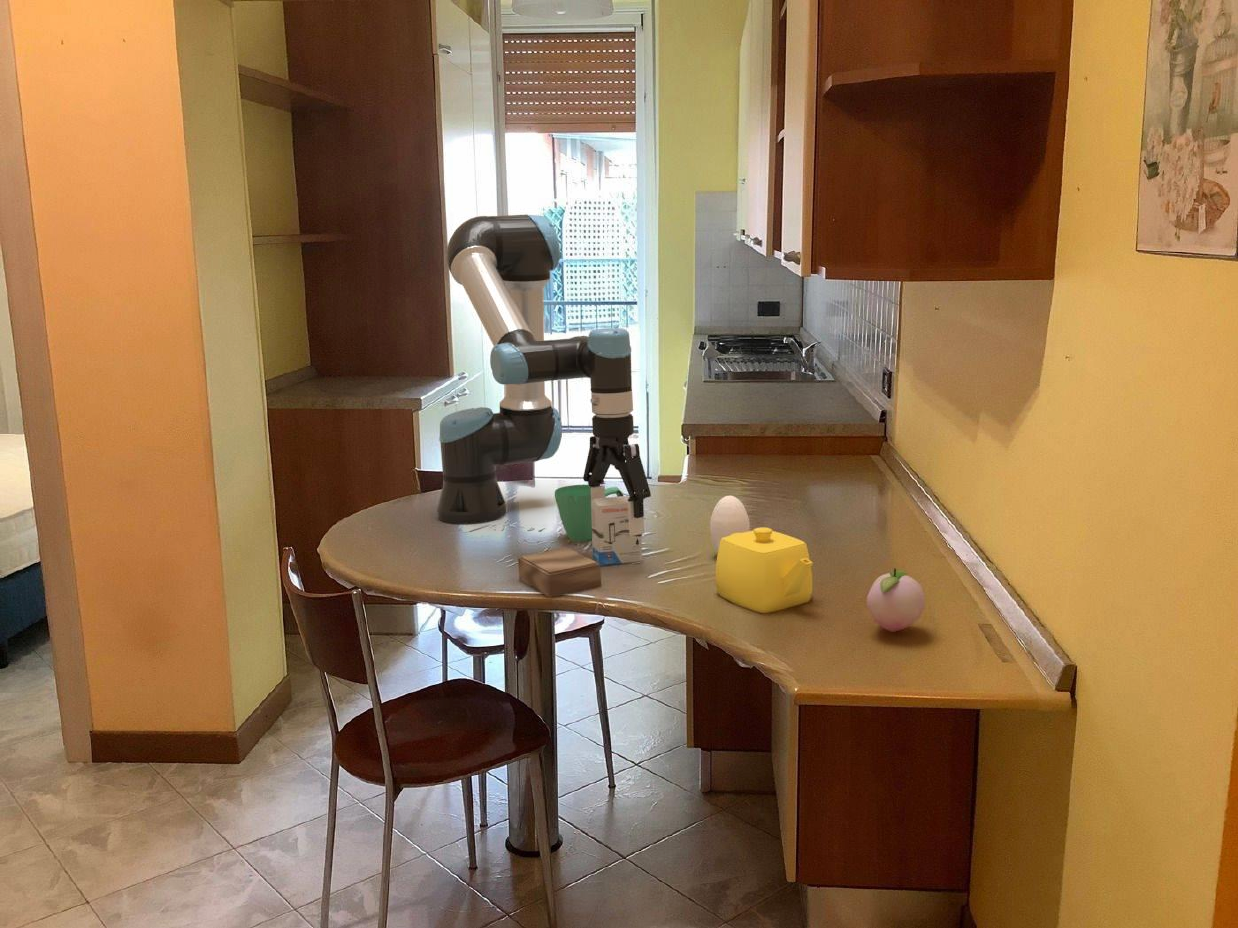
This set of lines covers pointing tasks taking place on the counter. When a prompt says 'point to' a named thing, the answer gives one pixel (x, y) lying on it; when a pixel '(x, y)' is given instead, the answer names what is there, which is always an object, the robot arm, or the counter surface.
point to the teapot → (763, 570)
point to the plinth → (559, 572)
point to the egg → (728, 519)
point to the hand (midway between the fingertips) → (617, 526)
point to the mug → (578, 510)
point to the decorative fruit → (896, 600)
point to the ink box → (613, 532)
